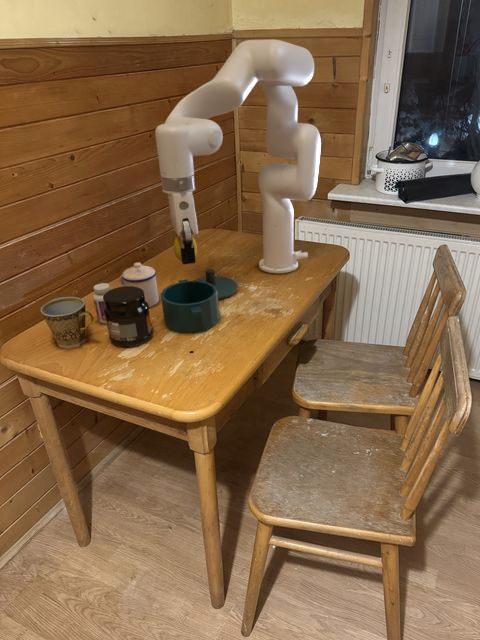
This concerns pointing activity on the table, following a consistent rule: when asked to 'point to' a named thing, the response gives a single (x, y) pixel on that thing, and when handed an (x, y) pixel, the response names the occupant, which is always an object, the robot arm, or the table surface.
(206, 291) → the cooker
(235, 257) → the table surface
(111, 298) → the supplement container
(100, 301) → the pill bottle
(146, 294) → the teacup with lid
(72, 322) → the ceramic cup
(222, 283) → the cooker lid
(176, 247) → the lemon
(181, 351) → the table surface
